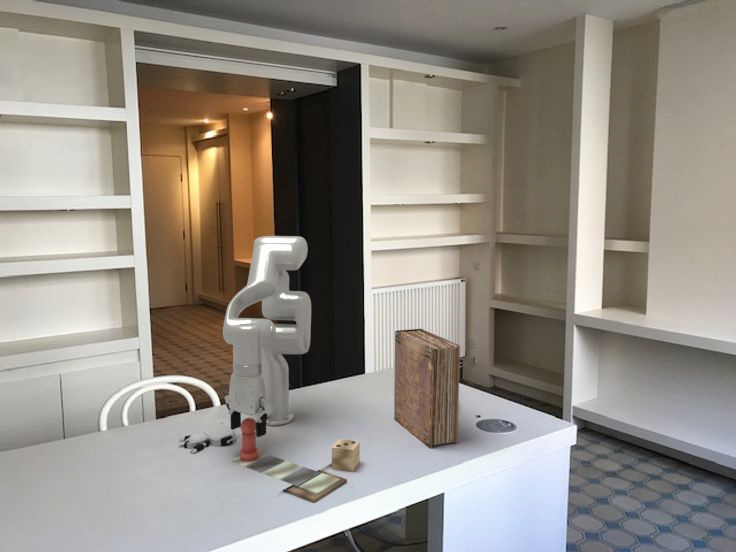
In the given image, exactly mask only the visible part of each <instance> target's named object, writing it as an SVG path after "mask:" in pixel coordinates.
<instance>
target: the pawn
mask: <svg viewBox="0 0 736 552" xmlns="http://www.w3.org/2000/svg"><path fill="white" fill-rule="evenodd" d="M240 430H241V432H242V434H241V436H242V437H241V438H242V439H241V440H242V441H241V442H242V443H241V444H242V448H241V449H240V450H239V456H240V460H241V461H244V462H251V461H255V460H257V459H258V458H259V452H260V451H259V450H260V449H258V447H257V437H256V421H255V418H252V417H246V418H244V419H242V420H241V427H240ZM257 461H258V460H257ZM255 462H256V461H255Z"/></svg>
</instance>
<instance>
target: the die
mask: <svg viewBox="0 0 736 552" xmlns="http://www.w3.org/2000/svg"><path fill="white" fill-rule="evenodd" d="M360 443H361V442H360V441H359V440H351V439H342V438H341V439H340V438H338V439H337V441H335V443H334V444H333V445H332V446H331V469H332V470H336V471H344V472H351V473H352V472H355V470H356V468H357V467H358V465H359V464H360V460H361V459H360V455H361V454H360V449H361V448H360V445H361V444H360Z"/></svg>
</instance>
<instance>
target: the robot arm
mask: <svg viewBox="0 0 736 552" xmlns="http://www.w3.org/2000/svg"><path fill="white" fill-rule="evenodd" d="M252 247H253V251H252V255H251V262H250V268H249V272H248V273H249V274H248V279H247V284H246V285H245V286H244V287H242V289H241V290H239V291H238V292H237V293H236V294H235V295H234V296H233V298H232V299H231V300H230V302H229V303H228V306H227V307H226V311H225V316H224V320H223V327H222V337H223V341H225V343H226V344H228V345H232V358H233V359H232V360H233V361H232V369H233V370H232V373H231V376H230V379H229V387H228V388H229V389H228V394H227V395H225V396H224V400H225V404H226V408H227V410H228V415H230V427H231V429H232V430H233V429H234V430H236V429H238V428H241V423H242V417H241V416H242V414H244V415H248V416H254V420H255V421H256V431H255V432H256V438H260V437H263V436H266V435H267V426H283V425H285V424H288V423H291V422H292V421H293V420H294V413H293V412H292V411H290V403H289V402H290V400H289V399H290V398H289V397H290V396H289V395H290V394H289V390H290V389H289V388H290V387H289V386H290V385H289V384H290V382H289V381H290V380H289V376H290V374H289V371H290V370H289V365H288V362H287V360H286V359H285V357H284V356H283V355H305V354H307V353H308V352H309V350H310V346H311V332H312V331H311V329H312V328H311V326H312V325H311V324H312V301H311V298H310V295H309V293H307V292H306V291H301V290H298V291H297V290H290V276H289V272H287V271H296V270H299V269H300V267H301V266H302V265H303V263H304V262H305V260H306V259H307V256H308V242H307V241H306V239H305V238H304V237H302V236H298V235H297V236H295V235H292V236H290V235H285V236H284V235H283V236H282V235H265V236H259V237H256V239H254V241H253V245H252ZM258 302H261V312H262V315H263V317H264V318H254V317H253V318H252V317H239V315H240V314H241V313H242V311H243V310H245V309H246V308H248V307H250V306H251V305H253V304H256V303H258ZM273 320H274V321H295V322H296V324H288V323H287V324H286V323H274V322H273Z"/></svg>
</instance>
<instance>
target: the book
mask: <svg viewBox="0 0 736 552" xmlns="http://www.w3.org/2000/svg"><path fill="white" fill-rule="evenodd" d="M460 354H461V345H460V344H458V343H456V342H454V341H451V340H450V339H447V338H445V337H442V336H440V335H437V334H435V333H432V332H430V331H427V330H425V329H422V328H415V329H414V328H413V329H401V330H395V331H394V402H393V403H394V406H393V407H394V411H393V412H394V413H393V415H394V417H393V419H394V421H396V422H397V423H398V424H399V425H401V426H402V427H403V428H404V429H405V430H407V431H408V432H409V433H411V435H413V436H414V437H415V438H417V439H418V440H419V441H420V442H421V443H422V444H424V445H425V446H426V447H427V448H429V449H430V448H431V449H432V447H434V446H438V445H439V446H440V445H445V444H446V445H447V444H451V443H454V444H458V435H459V434H458V433H459V431H458V430H459V429H458V428H459V397H460V396H459V395H460V361H461V360H460V359H461V358H460V356H461V355H460Z"/></svg>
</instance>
